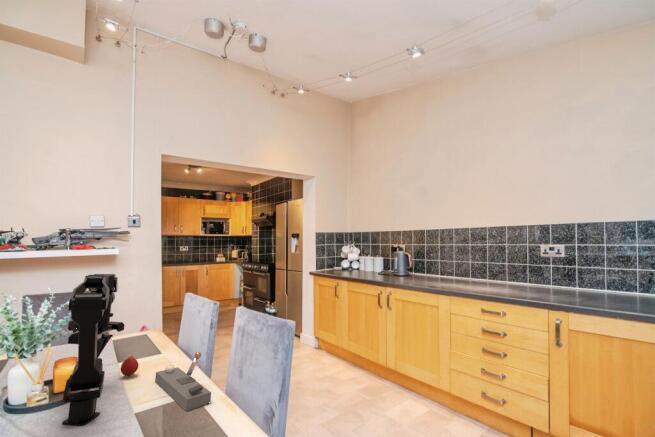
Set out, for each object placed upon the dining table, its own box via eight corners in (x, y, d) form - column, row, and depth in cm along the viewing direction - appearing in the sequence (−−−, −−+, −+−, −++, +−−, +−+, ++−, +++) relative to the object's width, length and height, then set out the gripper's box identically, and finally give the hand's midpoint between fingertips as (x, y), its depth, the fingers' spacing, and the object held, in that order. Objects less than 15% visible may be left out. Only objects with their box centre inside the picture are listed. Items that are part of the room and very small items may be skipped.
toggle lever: (187, 375, 115) (198, 352, 118) (184, 373, 117) (195, 350, 120) (192, 376, 116) (203, 353, 119) (190, 374, 118) (200, 352, 121)
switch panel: (185, 411, 102) (186, 398, 102) (155, 381, 121) (156, 371, 122) (210, 403, 107) (211, 391, 108) (177, 376, 127) (177, 366, 127)
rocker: (191, 394, 105) (191, 391, 104) (188, 392, 106) (188, 389, 106) (202, 389, 107) (202, 386, 107) (199, 387, 109) (199, 384, 109)
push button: (166, 373, 121) (167, 368, 121) (164, 371, 123) (164, 366, 123) (175, 371, 123) (175, 366, 123) (172, 369, 125) (172, 364, 125)
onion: (128, 380, 121) (131, 358, 122) (115, 378, 122) (118, 356, 123) (140, 375, 127) (142, 353, 127) (128, 373, 128) (130, 352, 129)
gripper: (98, 304, 121) (93, 348, 119) (54, 315, 102) (47, 366, 101) (127, 306, 120) (123, 350, 119) (88, 317, 102) (82, 369, 100)
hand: (95, 358), depth 110 cm, fingers closed
